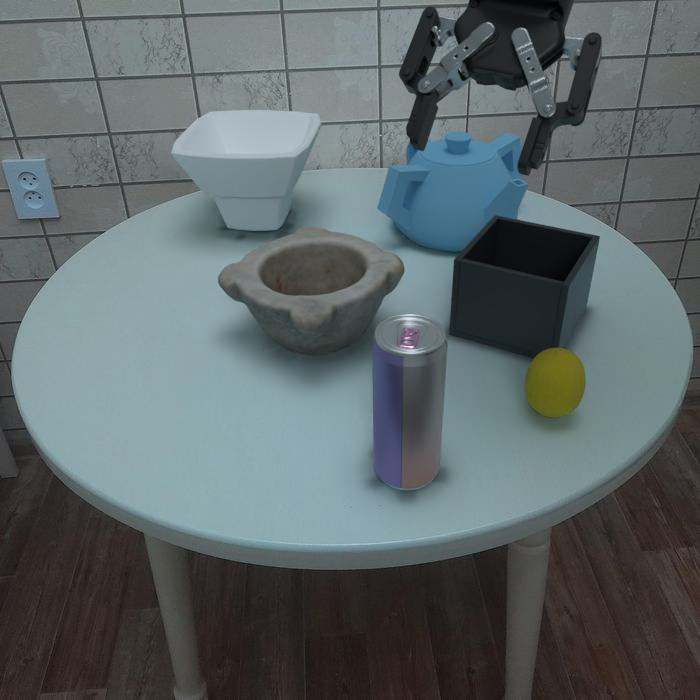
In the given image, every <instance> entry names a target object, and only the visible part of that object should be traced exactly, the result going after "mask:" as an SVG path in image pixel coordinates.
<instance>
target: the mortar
mask: <svg viewBox="0 0 700 700" xmlns="http://www.w3.org/2000/svg"><path fill="white" fill-rule="evenodd" d="M405 272H406V271H405V264H404V262H403V260H402V259H401V257H400V256H398V255H397V254H395V253H391V252H385V251H384V250H382V249H381V248H380V247H378V246H377V245H376V244H375V243H373V242H371V241H370V240H366V239H364V238H362V237H359V236H355V235H352V234H349V233H343V232H340V231H339V232H337V231H331V230H328V229H327V228H324V227H318V226H317V227H315V226H307V227H302V228H301V227H300V228H299V229H297V230H295V232H294V233H292V234H288V235H285V236H281V237H278V238H275V239H273V240H271V241H269V242H267V243H264V244H262V245H261V246H258V247H257V248H255V249H253V250H252V251H250V252H249V253H247V254H245V255H244V257H243V258H242V259H241V260H240V261H239V262H238V261H237V262H234V263H230V264H227V265H226V266H225V267H224V268H223V269H222V270H221V271H220V273H219V274H218V276H217V283H218V285H219V287H220V288H221V290H222V291H223V292H224V293H225V294H226V295H227V296H228V297H229V298H230V299H231V300H233V301H235V302H238V303H242V304H244V305H245V306H246V307H247V309H248V311H249V312H250V314H251V316H252V317H253V318H254V320H255V321H256V322H257V324H258V325H259V326H260V327H261V328H262V330H263V331H264V332H265V333H266V334H267V335H268V337H270V338H271V339H272V340H273V341H274V342H275V343H277V344H278V345H279V346H280V347H282V348H284V349H286V350H288V351H290V352H292V353H297V354H301V355H324V354H328V353H333V352H336V351H340V350H342V349H345V348H346V347H349V346H350V345H352V344H353V343H355V342H356V341H357V340H358V339H359V338H360V337H361V336H362V335H363V334H364V332H365V331H366V330H367V329H368V327H369V326H370V324H371V322H372V321H373V320H374V318H375V316H376V314H377V313H378V311H379V309H380V307H381V306H382V303H383V300H384V299H385V297H386V296H388V295H389V294H391V293H392V292H394V290H396V288H397V286H398V285H399V283H400V281H401V280H402V278H403V276H404V274H405Z"/></svg>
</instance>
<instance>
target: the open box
mask: <svg viewBox="0 0 700 700" xmlns="http://www.w3.org/2000/svg"><path fill="white" fill-rule="evenodd" d="M600 239H601V236H600V235H596V234H591V233H587V232H581V231H576V230H572V229H567V228H562V227H556V226H551V225H547V224H542V223H536V222H531V221H527V220H521V219H518V218H517V219H512V218H507V217H502V216H497V215H495V216H494V217H493V218H492V219H491V220H490V221H489V222H488V223H487V224H486V225H485V226H484V227H483V229H482V230H481V231H480V232H479V233H478V234H477V235H476V236H475V237H474V238H473V239H472V241H471V242H470V243H469V244H468V245H467V246H466V247H465V248H464V249H463V250H462V251H460V253H458V255H456V257H455V258H454V259H453V267H452V268H453V269H452V286H451V300H450V314H449V315H450V316H449V319H450V320H449V330H448V331H449V333H448V334H449V335H450V336H455V337H457V338H461V339H466V340H469V341H472V342H476V343H480V344H483V345H486V346H490V347H494V348H497V349H500V350H504V351H508V352H513V353H515V354H519V355H521V356H522V355H523V356H525V357H530V358H533V359H534V358H535V357H536V356H537V355H538V354H539V353H540V352H542V351H544V350H547V349H549V348H563V349H566V346H567V344H568V342H569V341H570V339H571V337H572V336H573V334H574V331H575V330H576V329H577V326H578V324H579V323H580V321H581V319H582V318H583V316H584V315H585V314H584V313H585V312H586V310H587V305H588V301H589V296H590V291H591V286H592V281H593V275H594V270H595V265H596V260H597V254H598V250H599V244H600Z"/></svg>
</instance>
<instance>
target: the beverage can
mask: <svg viewBox="0 0 700 700" xmlns="http://www.w3.org/2000/svg"><path fill="white" fill-rule="evenodd" d="M373 333H374V335H373V339H372V343H371V356H372V357H371V359H372V360H371V362H372V363H371V365H372V367H371V368H372V370H371V371H372V375H371V377H372V459H373V461H372V462H373V463H372V465H373V470H374V472H375V474H376V475H377V477H378V478H379V479H380V480H381V481H382V482H383V483H384V484H385V485H386V486H389V487H390V488H393V489H396V490H400V491H415V490H419V489H422V488H425V487H426V486H428V485H429V484H430V483H432V481H434V480H435V478H436V477H437V476H438V474H439V472H440V468H441V455H442V454H441V453H442V441H443V440H442V437H443V424H444V423H443V422H444V407H445V393H446V392H445V391H446V376H447V363H448V362H447V361H448V341H447V339H446V337H447V334H446V330H445V328H444V326H443V325H442V324H441V323H440V321H437V319H434V318H432V317H429V316H427V315H422V314H418V313H417V314H416V313H404V314H403V313H402V314H395V315H392V316H389V317H387V318H385V319H383V320H381V321H380V322H379V323H378V324H377V326H376V327H375V330H374V332H373Z"/></svg>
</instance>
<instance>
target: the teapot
mask: <svg viewBox="0 0 700 700" xmlns="http://www.w3.org/2000/svg"><path fill="white" fill-rule="evenodd" d="M472 138H473V136H472V135H471V134H470V133H468V132H465V131H451V132H448V133H446V134H445V135H444V138H442V139H436V140H431V139H430V138H428V141H427V144H426V147H425V149H424V151H420V150H416V149H414V148H413V147H412V145H411V144H410V141H409V142H408V143H407V145H406V150H405V151H406V152H405V157H406V159H405V160H406V161H405V162H406V164H405V165H388V169H387V172H386V176H385V180H384V183H383V187H382V191H381V194H380V197H379V201H378V204H377V207H376V208H377V210H378V211H379V212H381V213H383V214H384V215H385V216H387V217H388V218H389V219H391V220H392V221H393V223H394V224H395V226H396V227H397V228H398V229H399V231H400V232H401V233H402V234H404V236H405V237H407V239H409V240H410V241H411V242H413V243H415V244H417V245H418V246H421V247H424V248H427V249H431V250H435V251H442V252H457V253H458V252H461V251H462V250H463V249H464V248H465V247H466V246H467V245H468V244H469V243H470V242H471V241H472V239H473V238H474V237H475V236H476V235H477V234H478V233H479V232H480V231H481V230H482V229H483V227H484V226H485V225H486V224H487V223H488V222H489V221H490V220H491V219H492V218H493V217H494V216H495V215H497V216H502V217H507V218H512V219H517V220H518V215H519V208H520V206H521V204H522V201H523V199H524V196H525V195H526V192H527V189H528V186H529V183H528V182H526V181H524V180H522V179H521V177H523V174H519V171H518V169H517V165H518V161H519V158H520V155H521V152H522V149H523V148H522V141H521V137H520V136H518V135H515V134H513V133H509V132H506V133H504V134H503V135H501V136H499V137H498V138H496V139H494V140H492V141H490V142H489V143H486V142H484V141H481V140H477V139H472Z"/></svg>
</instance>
